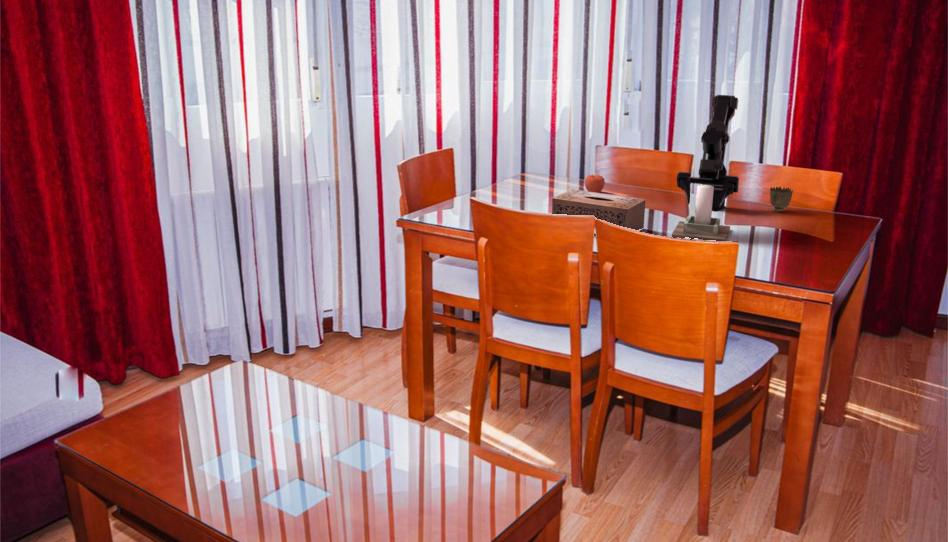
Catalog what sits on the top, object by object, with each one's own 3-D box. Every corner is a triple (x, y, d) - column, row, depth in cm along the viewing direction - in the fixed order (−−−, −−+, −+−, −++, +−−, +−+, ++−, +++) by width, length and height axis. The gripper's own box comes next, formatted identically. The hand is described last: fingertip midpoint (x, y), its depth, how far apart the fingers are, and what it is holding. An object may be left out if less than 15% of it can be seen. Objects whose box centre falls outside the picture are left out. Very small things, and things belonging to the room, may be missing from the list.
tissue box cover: (643, 229, 271) (645, 199, 267) (626, 240, 259) (628, 209, 256) (571, 218, 284) (572, 189, 280) (551, 228, 272) (552, 198, 269)
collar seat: (679, 224, 275) (680, 212, 274) (729, 229, 269) (731, 217, 268) (671, 237, 261) (672, 224, 260) (724, 243, 255) (726, 230, 254)
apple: (592, 190, 320) (593, 169, 318) (608, 193, 315) (609, 172, 312) (580, 193, 315) (581, 172, 313) (595, 196, 310) (596, 175, 308)
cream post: (691, 228, 267) (694, 185, 262) (705, 227, 268) (709, 184, 263) (697, 232, 262) (701, 188, 258) (712, 231, 263) (716, 188, 258)
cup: (793, 214, 287) (796, 191, 285) (771, 214, 287) (774, 191, 285) (786, 208, 294) (788, 186, 292) (764, 208, 294) (767, 186, 292)
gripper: (679, 146, 264) (671, 188, 258) (741, 150, 257) (735, 193, 251) (681, 166, 273) (673, 207, 267) (741, 170, 267) (734, 212, 261)
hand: (703, 204), depth 261 cm, fingers open, 9 cm apart
